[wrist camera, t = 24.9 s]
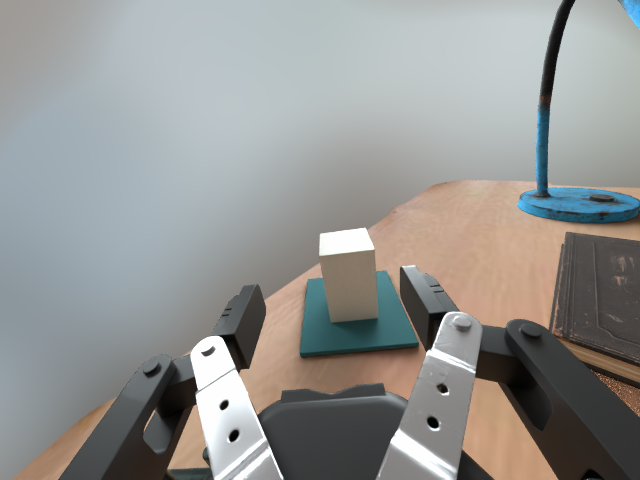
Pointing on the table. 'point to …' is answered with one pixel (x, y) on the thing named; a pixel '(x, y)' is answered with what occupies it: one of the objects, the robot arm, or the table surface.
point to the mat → (355, 324)
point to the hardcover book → (600, 304)
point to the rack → (190, 471)
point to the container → (349, 275)
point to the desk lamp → (547, 200)
